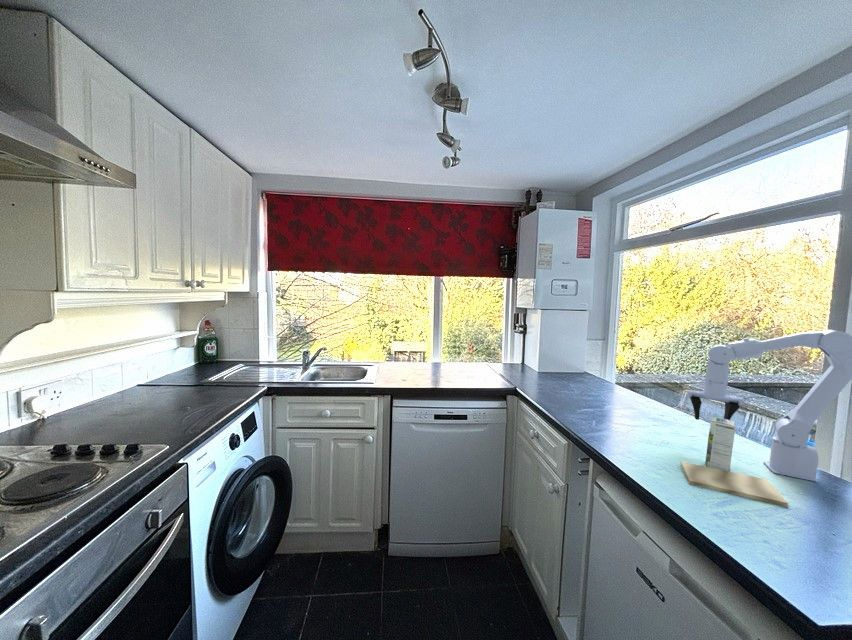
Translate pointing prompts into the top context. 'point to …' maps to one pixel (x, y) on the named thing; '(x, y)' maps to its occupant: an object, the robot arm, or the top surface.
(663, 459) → the top surface
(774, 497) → the bamboo board
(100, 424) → the top surface
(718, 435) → the syrup box
